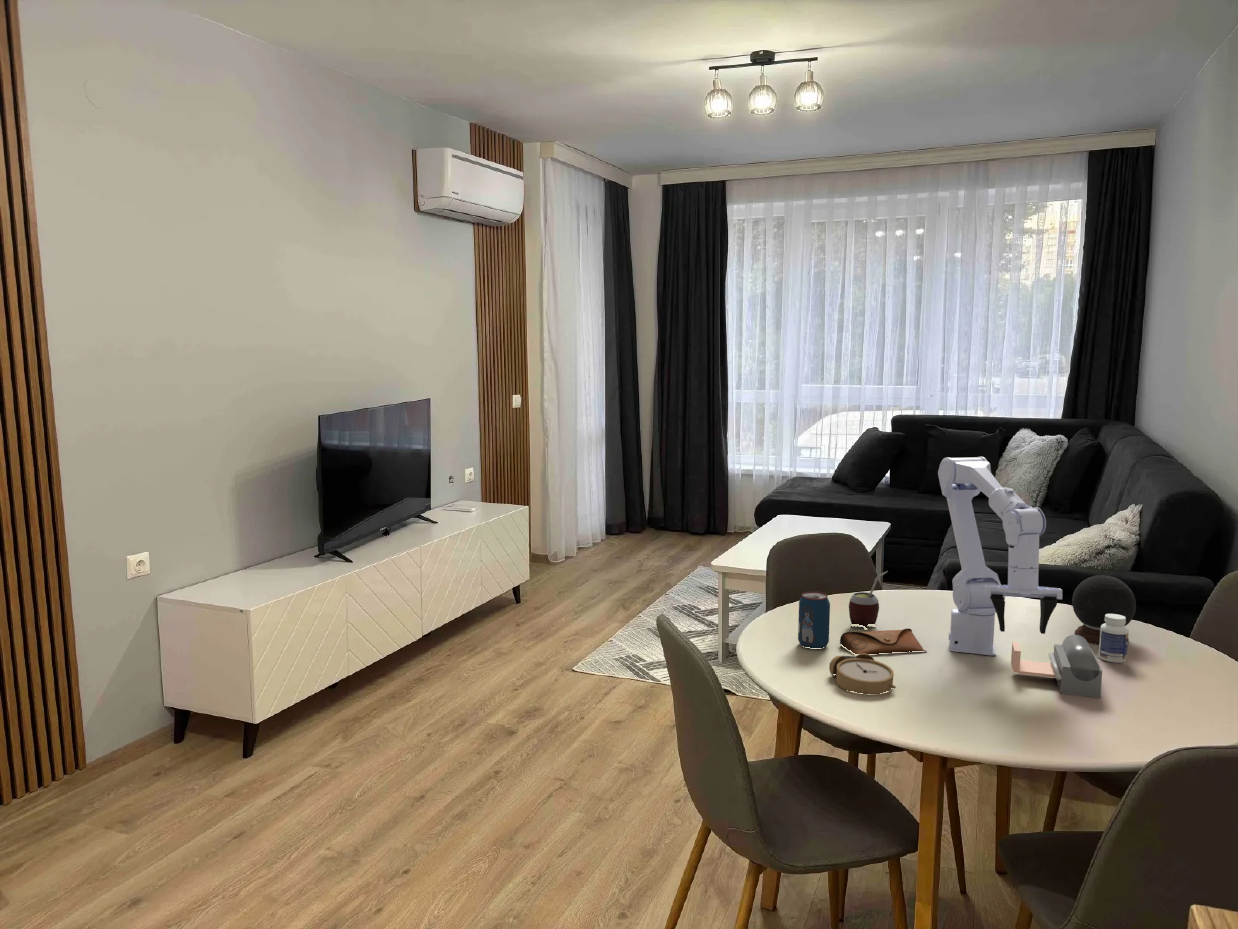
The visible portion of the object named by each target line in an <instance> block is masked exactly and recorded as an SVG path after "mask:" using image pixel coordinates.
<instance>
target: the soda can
mask: <svg viewBox="0 0 1238 929" xmlns="http://www.w3.org/2000/svg"><path fill="white" fill-rule="evenodd" d="M830 615H831V601H830V600H829V598H828V594H827V593H824V592H821V591H806V592H802V593H801V597H800V599H799V600H798V628H797V630H798V631H797V640H798V642H799V644H800V646H801V645H802V646H804V647H810V648H823V647H825V648H826V647H827V646H828V644H829V642H830V623H831V620H830V619H831V618H830ZM802 646H801V647H802Z"/></svg>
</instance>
